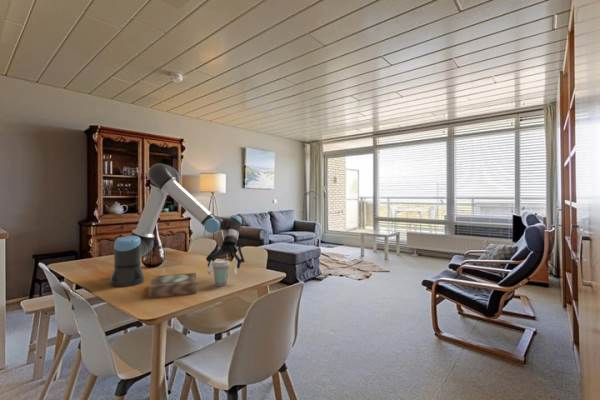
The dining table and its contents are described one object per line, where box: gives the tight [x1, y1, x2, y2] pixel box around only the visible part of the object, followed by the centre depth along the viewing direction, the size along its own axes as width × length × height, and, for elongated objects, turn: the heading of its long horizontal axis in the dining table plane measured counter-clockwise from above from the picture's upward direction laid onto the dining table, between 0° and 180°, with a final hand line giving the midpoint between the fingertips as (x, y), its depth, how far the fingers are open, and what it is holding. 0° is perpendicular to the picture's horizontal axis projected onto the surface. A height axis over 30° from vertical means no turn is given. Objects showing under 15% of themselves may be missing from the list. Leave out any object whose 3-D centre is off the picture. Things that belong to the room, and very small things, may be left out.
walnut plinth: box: [148, 272, 198, 299], centre depth 143 cm, size 20×18×5 cm
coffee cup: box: [212, 259, 231, 287], centre depth 151 cm, size 8×8×12 cm
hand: (221, 273), depth 151 cm, fingers open, 13 cm apart
